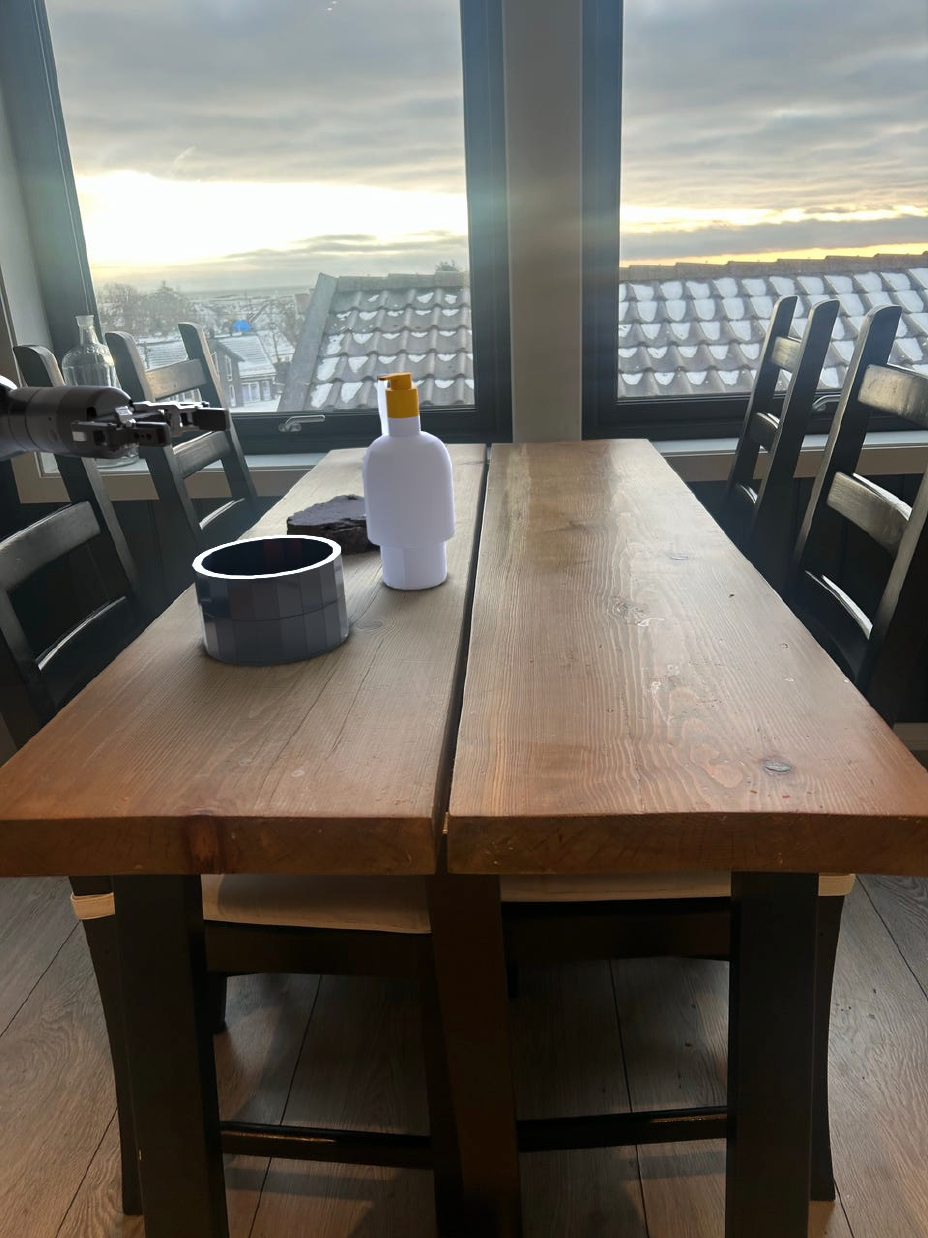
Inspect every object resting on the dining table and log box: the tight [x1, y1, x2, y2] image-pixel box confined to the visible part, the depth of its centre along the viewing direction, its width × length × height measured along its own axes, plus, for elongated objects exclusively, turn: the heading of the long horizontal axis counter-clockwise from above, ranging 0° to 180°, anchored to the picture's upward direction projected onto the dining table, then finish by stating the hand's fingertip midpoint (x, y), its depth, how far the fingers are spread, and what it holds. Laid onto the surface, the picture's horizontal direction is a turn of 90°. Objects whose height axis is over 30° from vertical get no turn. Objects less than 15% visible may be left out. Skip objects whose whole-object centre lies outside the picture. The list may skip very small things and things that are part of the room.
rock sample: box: [285, 493, 381, 556], centre depth 136 cm, size 18×16×5 cm
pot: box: [191, 535, 350, 667], centre depth 102 cm, size 15×15×9 cm
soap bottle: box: [361, 372, 457, 591], centre depth 114 cm, size 10×10×24 cm
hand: (199, 427), depth 99 cm, fingers open, 8 cm apart
